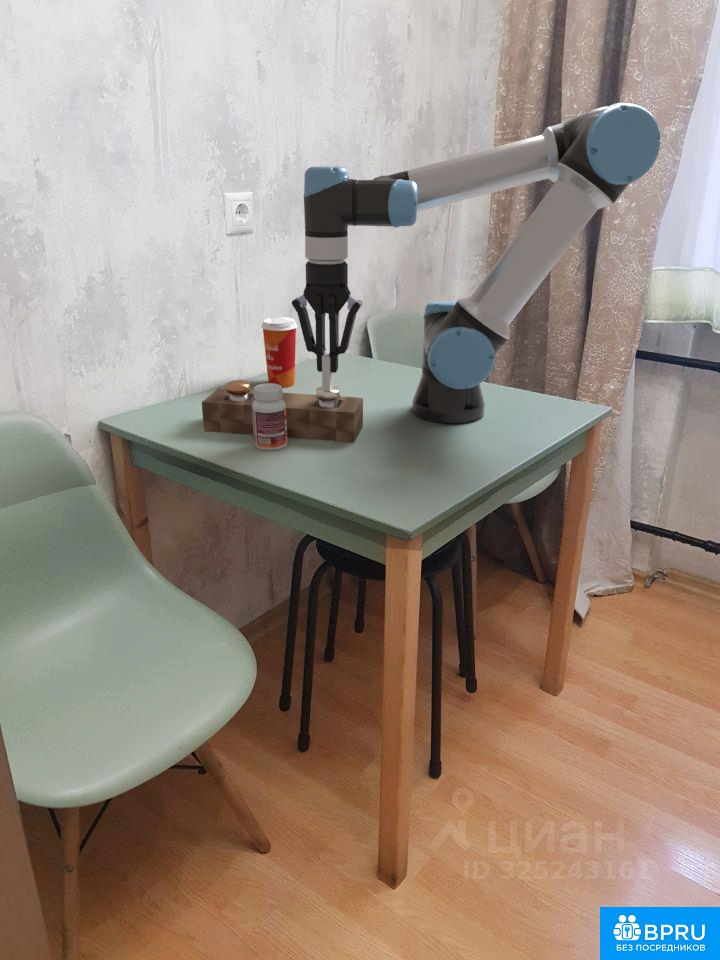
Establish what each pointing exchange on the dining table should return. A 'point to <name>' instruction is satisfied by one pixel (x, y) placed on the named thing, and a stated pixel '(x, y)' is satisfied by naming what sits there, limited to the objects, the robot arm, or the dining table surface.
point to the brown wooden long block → (287, 416)
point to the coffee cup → (280, 350)
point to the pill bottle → (269, 417)
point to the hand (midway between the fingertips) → (327, 388)
